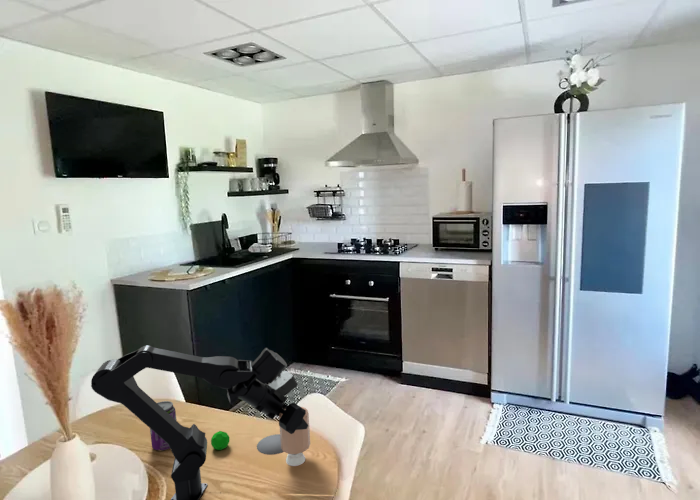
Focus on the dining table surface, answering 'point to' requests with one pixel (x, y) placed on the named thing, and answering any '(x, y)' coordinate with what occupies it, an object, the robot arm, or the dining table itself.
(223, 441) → the polyhedron
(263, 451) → the rubber mat
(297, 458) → the white tapered ring
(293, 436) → the cover cup
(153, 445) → the beverage can
